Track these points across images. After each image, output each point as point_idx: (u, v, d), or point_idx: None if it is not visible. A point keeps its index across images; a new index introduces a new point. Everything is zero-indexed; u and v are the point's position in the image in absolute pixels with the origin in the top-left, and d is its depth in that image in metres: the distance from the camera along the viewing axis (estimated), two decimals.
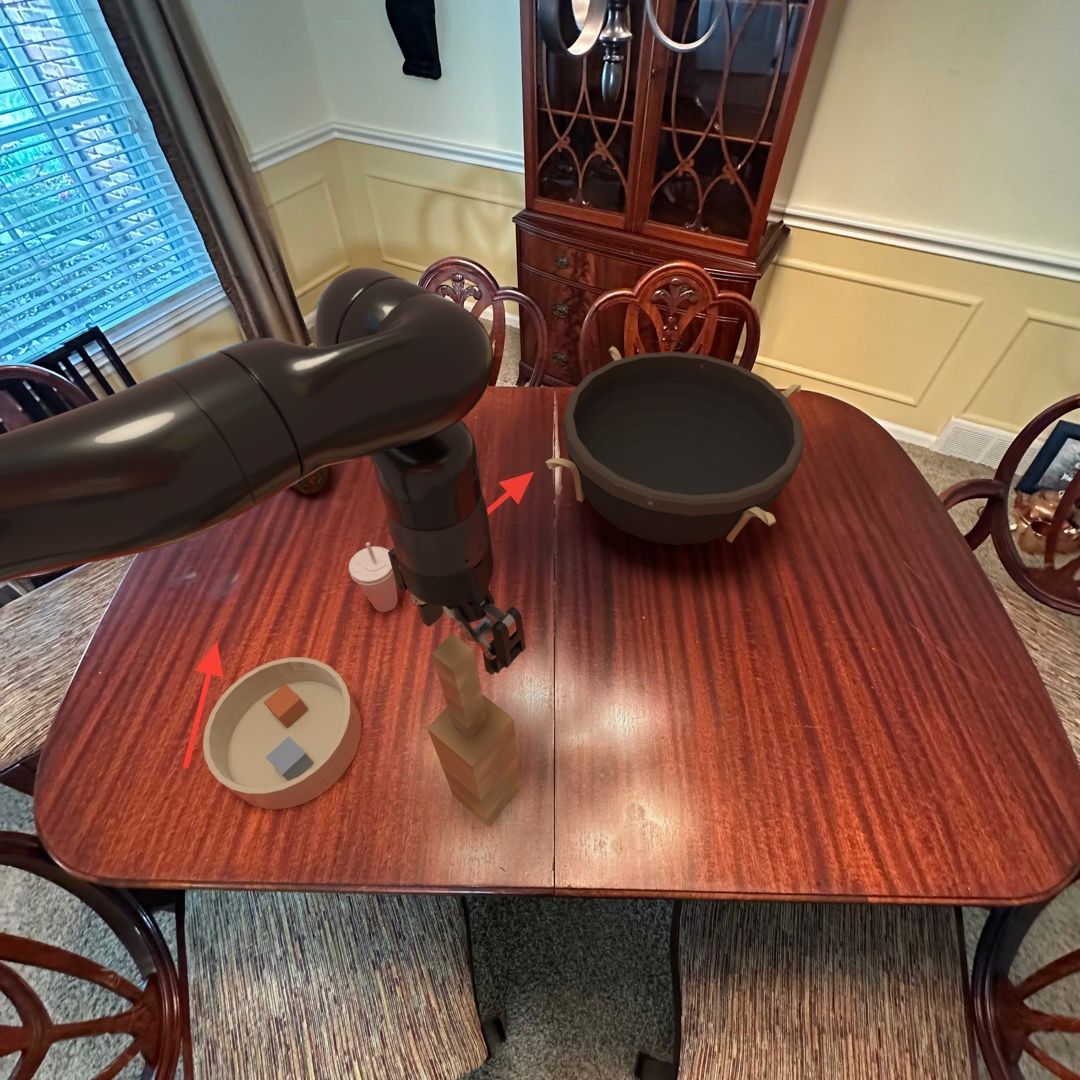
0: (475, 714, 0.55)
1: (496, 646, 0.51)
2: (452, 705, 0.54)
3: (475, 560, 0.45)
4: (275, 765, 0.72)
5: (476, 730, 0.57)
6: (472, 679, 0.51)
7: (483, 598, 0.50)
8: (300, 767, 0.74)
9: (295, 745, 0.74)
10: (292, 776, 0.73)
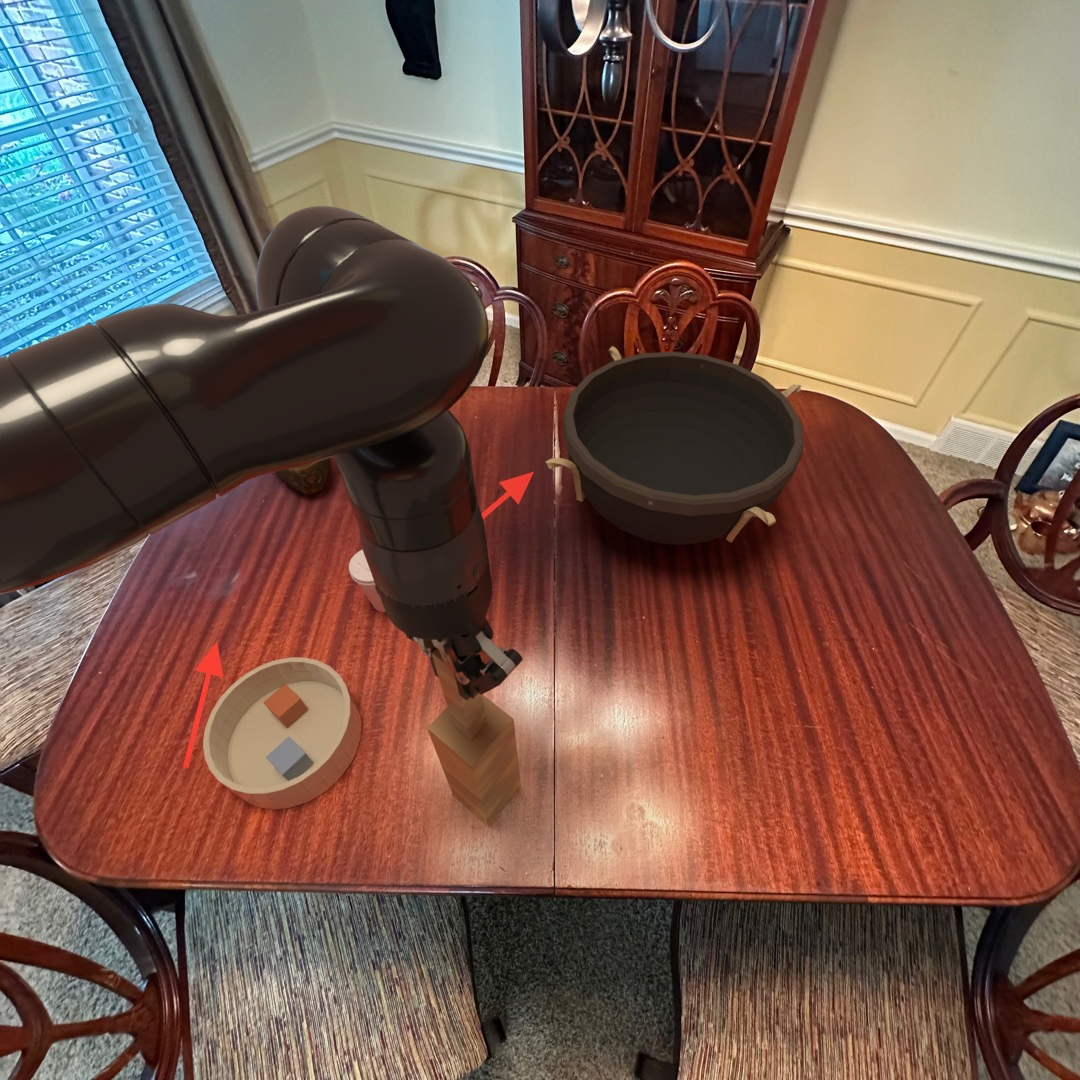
0: (475, 714, 0.55)
1: (480, 680, 0.44)
2: (452, 705, 0.54)
3: (469, 586, 0.37)
4: (275, 765, 0.72)
5: (476, 730, 0.57)
6: None
7: (480, 629, 0.41)
8: (300, 767, 0.74)
9: (295, 745, 0.74)
10: (292, 776, 0.73)
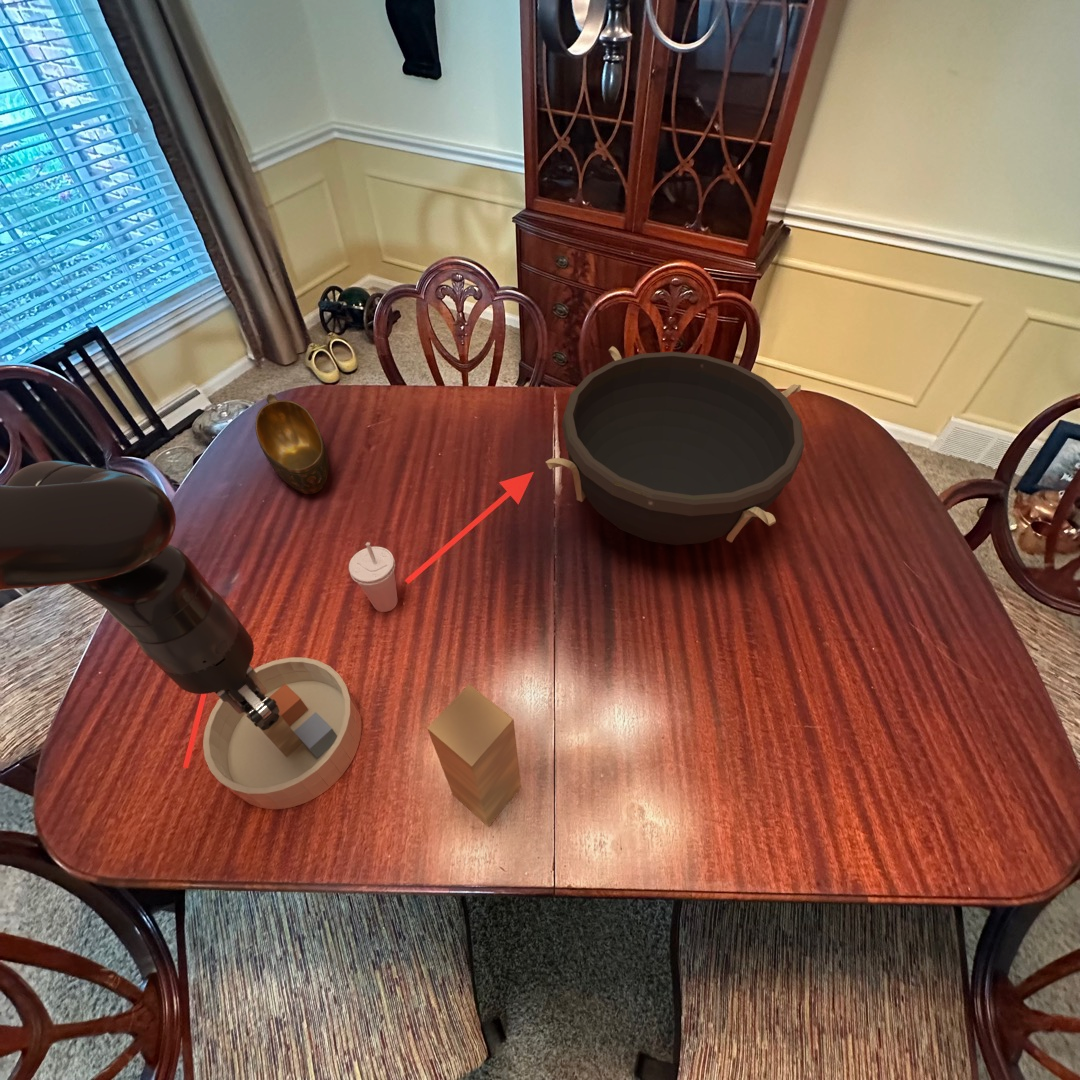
0: (285, 739, 0.72)
1: None
2: None
3: (215, 659, 0.54)
4: (303, 739, 0.74)
5: (291, 750, 0.75)
6: None
7: (240, 685, 0.58)
8: (327, 742, 0.76)
9: (322, 721, 0.76)
10: (318, 750, 0.75)
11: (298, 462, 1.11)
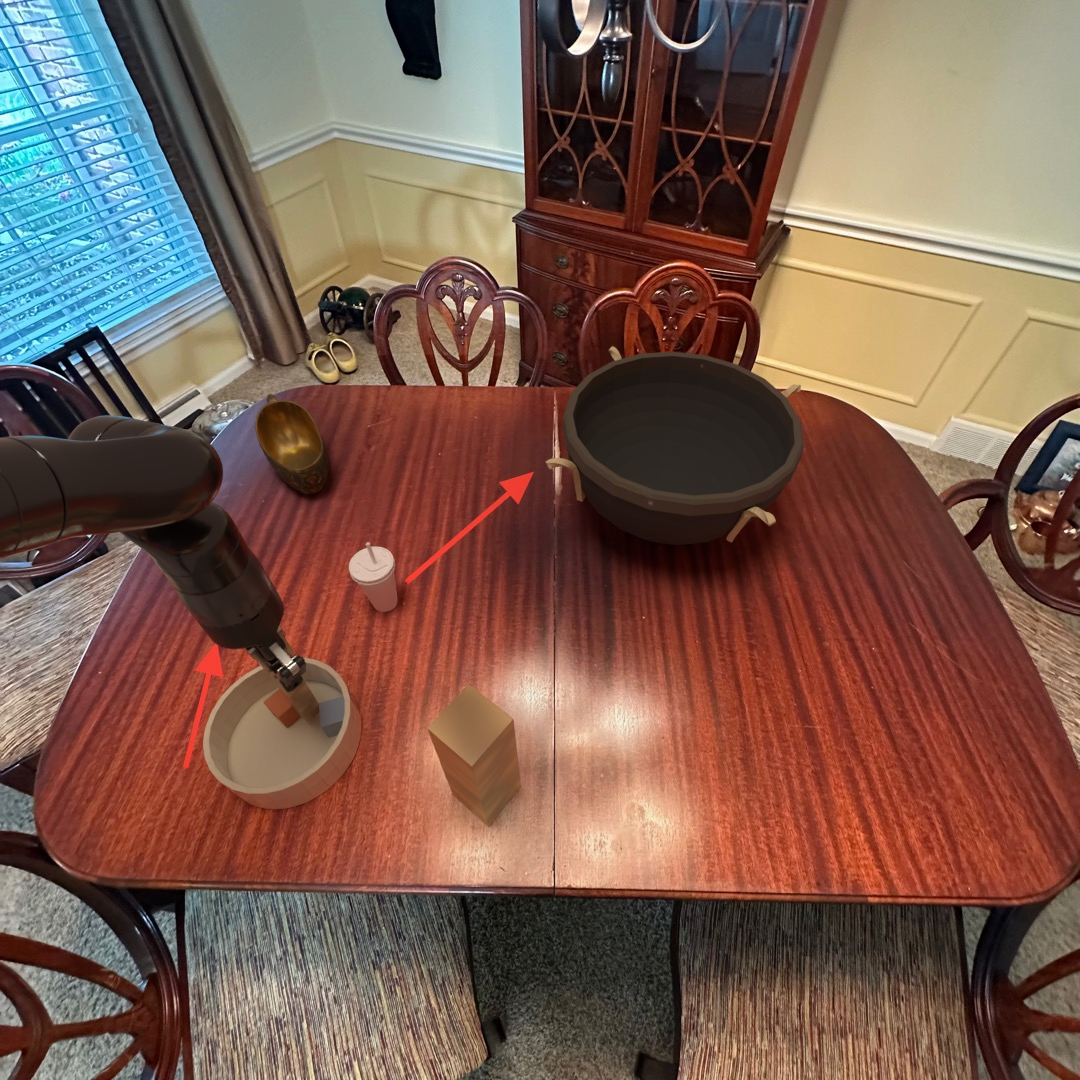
0: (306, 703, 0.75)
1: (280, 677, 0.64)
2: (286, 696, 0.74)
3: (250, 614, 0.57)
4: (321, 715, 0.76)
5: (311, 715, 0.77)
6: None
7: (271, 642, 0.61)
8: (340, 728, 0.77)
9: (344, 707, 0.77)
10: (330, 731, 0.77)
11: (298, 462, 1.11)
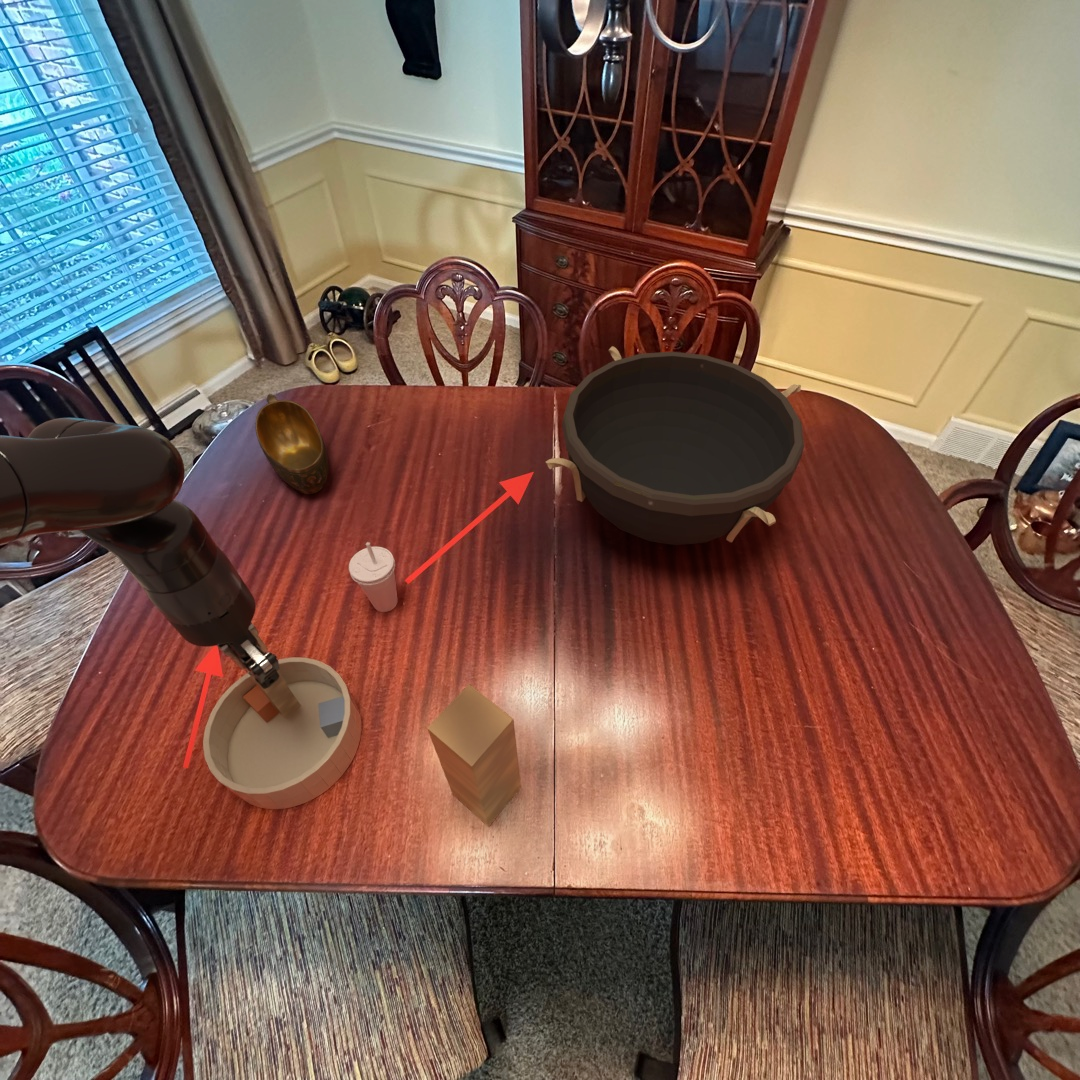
0: (284, 700, 0.76)
1: None
2: (263, 692, 0.74)
3: (219, 612, 0.58)
4: (320, 715, 0.76)
5: (290, 712, 0.78)
6: None
7: (243, 639, 0.62)
8: (340, 728, 0.77)
9: (344, 707, 0.77)
10: (329, 732, 0.77)
11: (298, 462, 1.11)
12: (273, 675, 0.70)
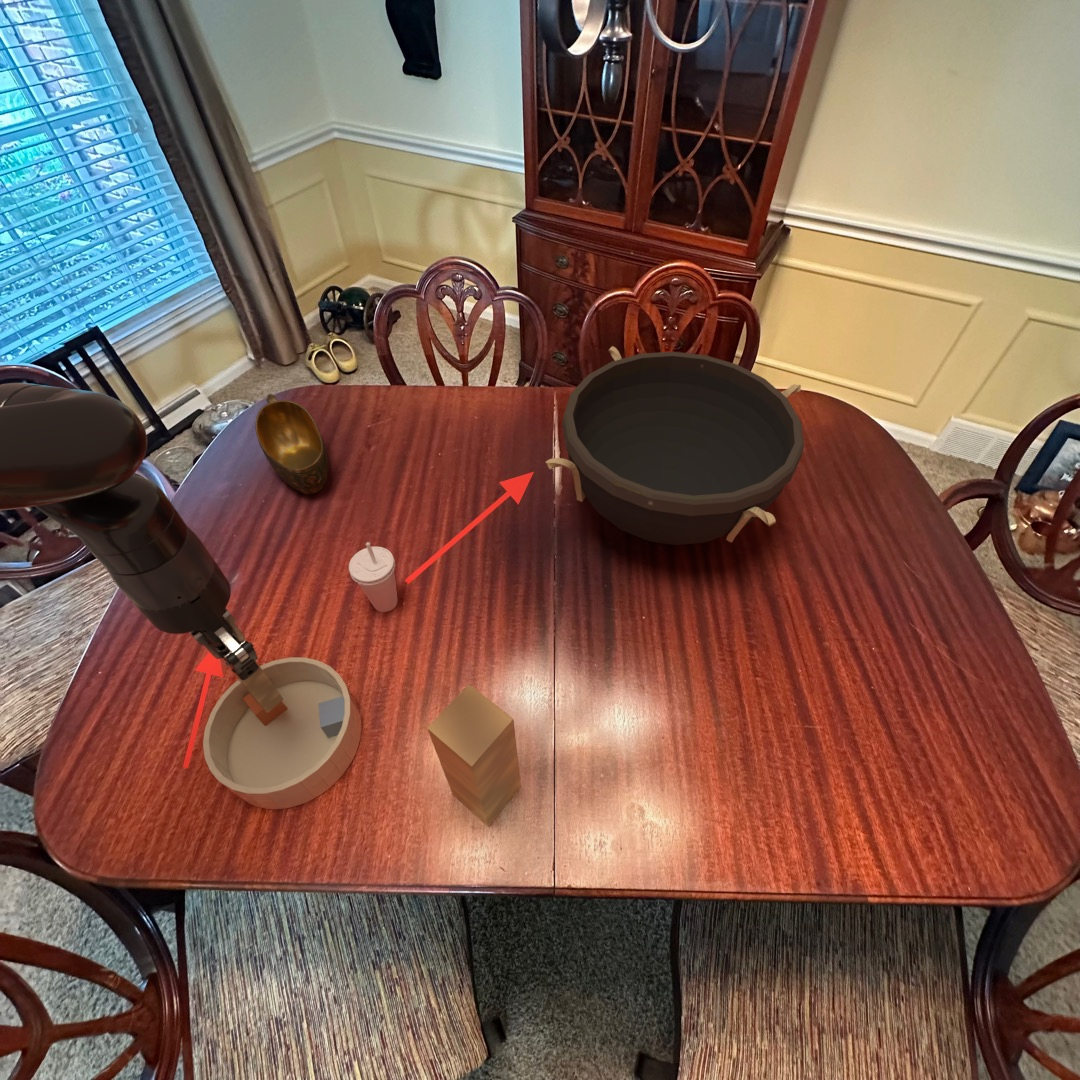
0: (265, 692, 0.73)
1: None
2: (243, 684, 0.71)
3: (190, 596, 0.54)
4: (320, 715, 0.76)
5: (271, 705, 0.75)
6: None
7: (217, 626, 0.58)
8: (340, 728, 0.77)
9: (344, 707, 0.77)
10: (329, 732, 0.77)
11: (298, 462, 1.11)
12: (252, 666, 0.67)
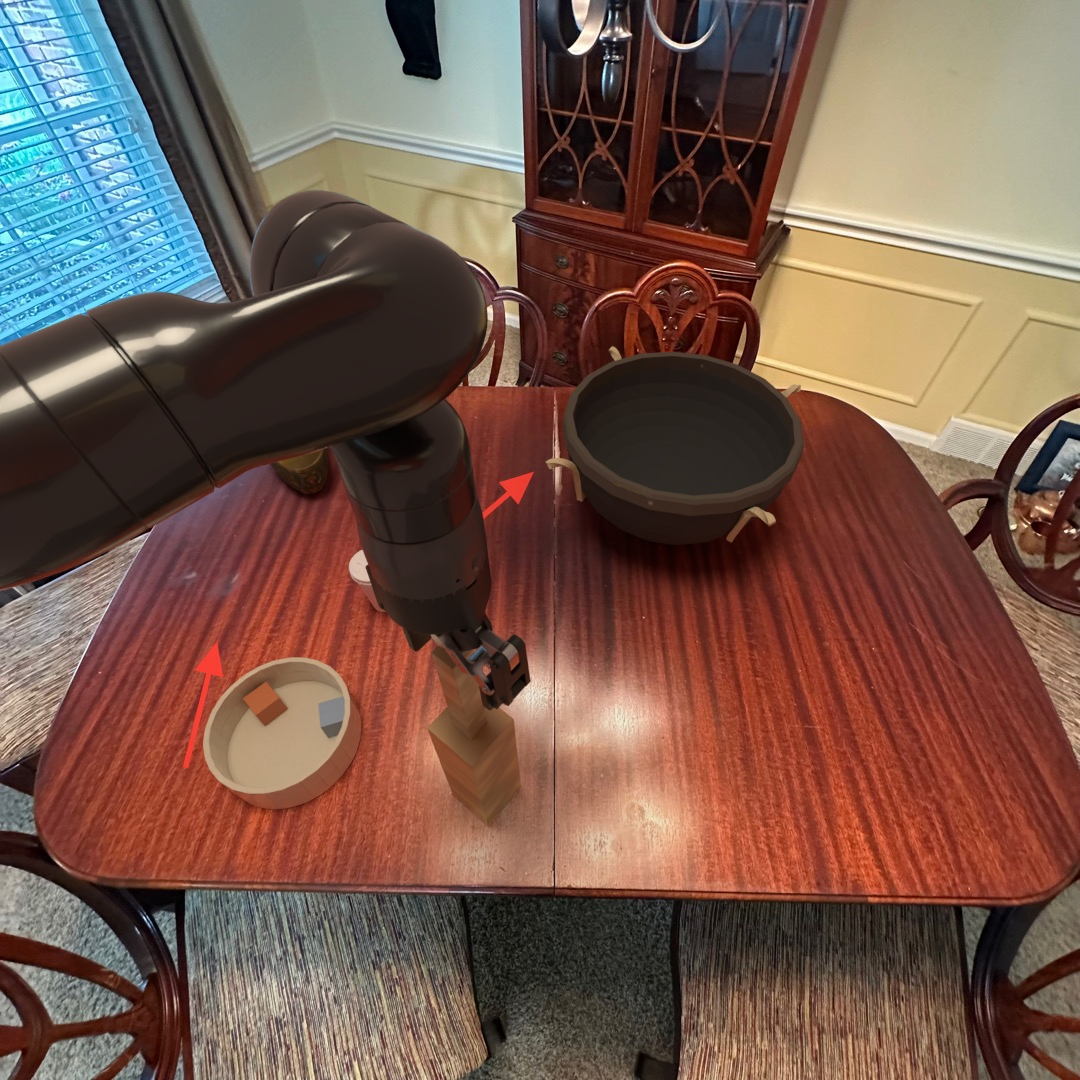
0: (475, 714, 0.55)
1: (495, 681, 0.42)
2: (452, 705, 0.54)
3: (468, 579, 0.36)
4: (320, 715, 0.76)
5: (476, 729, 0.58)
6: (472, 678, 0.51)
7: (479, 624, 0.41)
8: (340, 728, 0.77)
9: (344, 707, 0.77)
10: (329, 732, 0.77)
11: (298, 462, 1.11)
12: None
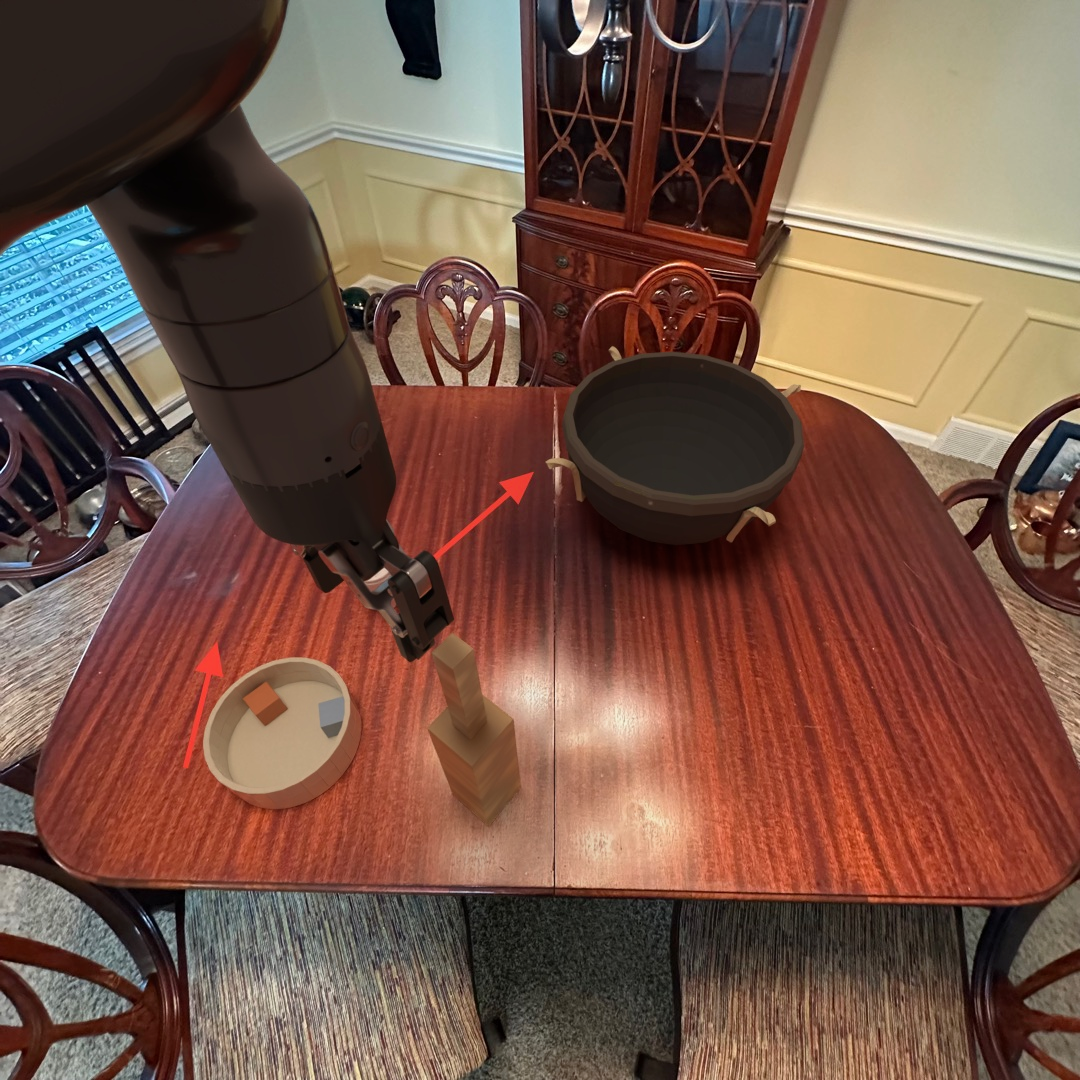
0: (475, 714, 0.55)
1: (402, 614, 0.32)
2: (452, 705, 0.54)
3: (347, 461, 0.27)
4: (320, 715, 0.76)
5: (476, 729, 0.58)
6: (472, 678, 0.51)
7: (377, 536, 0.31)
8: (340, 728, 0.77)
9: (344, 707, 0.77)
10: (329, 732, 0.77)
11: None
12: None
